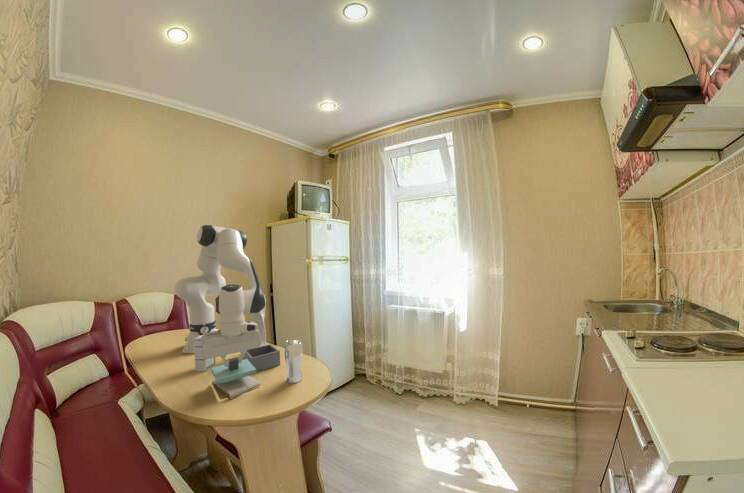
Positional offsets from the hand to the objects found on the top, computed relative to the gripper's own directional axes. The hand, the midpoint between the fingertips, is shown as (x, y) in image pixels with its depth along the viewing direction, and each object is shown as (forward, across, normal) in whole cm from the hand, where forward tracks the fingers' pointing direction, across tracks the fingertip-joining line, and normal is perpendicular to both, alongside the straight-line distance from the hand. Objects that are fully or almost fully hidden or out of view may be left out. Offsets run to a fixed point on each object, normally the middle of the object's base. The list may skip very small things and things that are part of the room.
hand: (233, 364), depth 106 cm
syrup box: (+9, -6, +27) cm, 29 cm away
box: (+9, +14, +12) cm, 20 cm away
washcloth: (+9, +1, 0) cm, 9 cm away
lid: (+4, 0, 0) cm, 4 cm away
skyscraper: (+9, +17, +27) cm, 33 cm away
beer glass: (+9, +20, -10) cm, 24 cm away
